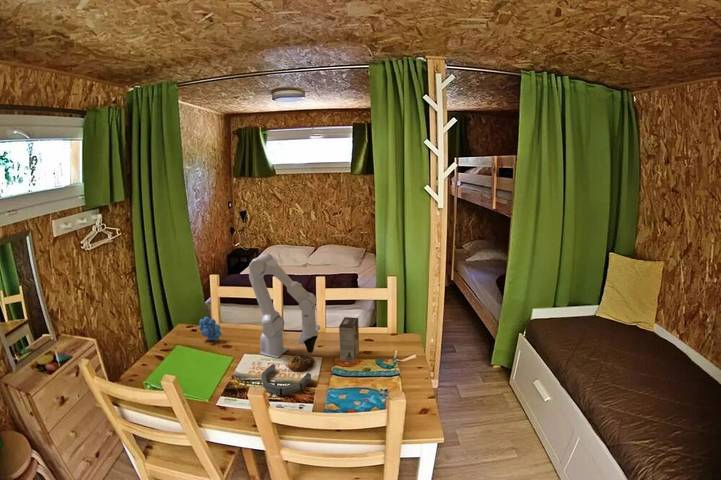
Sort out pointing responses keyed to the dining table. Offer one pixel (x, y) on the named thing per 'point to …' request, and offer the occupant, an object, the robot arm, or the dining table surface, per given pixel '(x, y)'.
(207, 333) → the grapes
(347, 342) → the coffee box
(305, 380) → the collar
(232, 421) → the dining table surface
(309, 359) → the bread roll
